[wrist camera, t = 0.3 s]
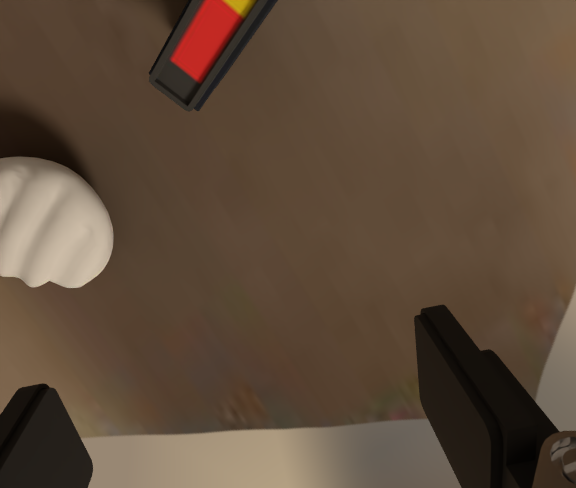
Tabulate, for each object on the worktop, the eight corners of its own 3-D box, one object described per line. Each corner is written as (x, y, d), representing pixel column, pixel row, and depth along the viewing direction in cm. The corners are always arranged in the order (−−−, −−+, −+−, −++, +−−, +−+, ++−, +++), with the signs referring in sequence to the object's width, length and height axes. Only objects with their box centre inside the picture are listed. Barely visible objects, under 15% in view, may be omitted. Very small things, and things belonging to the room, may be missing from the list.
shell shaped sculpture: (66, 116, 37) (32, 128, 31) (150, 238, 42) (134, 269, 36) (-59, 185, 39) (-115, 209, 33) (36, 295, 44) (3, 334, 38)
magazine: (338, -87, 32) (302, -39, 21) (240, 53, 40) (179, 138, 30) (298, -129, 31) (238, -102, 20) (206, 24, 39) (129, 101, 28)
